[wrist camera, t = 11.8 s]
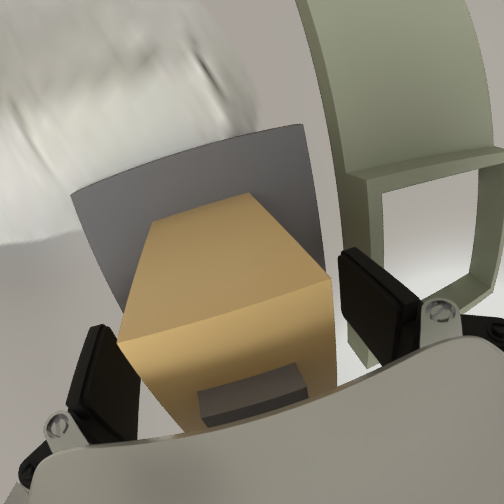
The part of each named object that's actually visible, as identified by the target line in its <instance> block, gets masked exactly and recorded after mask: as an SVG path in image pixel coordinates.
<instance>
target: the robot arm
mask: <svg viewBox="0 0 504 504" xmlns="http://www.w3.org/2000/svg"><path fill="white" fill-rule="evenodd" d="M338 269H339V283H340V298H341V311H342V314H343V316H344V318H345V319H346V320H347V322H348V323H349V324H350V325H351V327H352V328H353V329H354V330H355V332H356V333H357V334H358V336H359V337H360V338H361V339H362V341H363V342H364V343H365V345H366V346H367V347H368V348H369V350H370V351H371V352H372V354H373V355H374V356H375V358H376V359H377V360H378V361H379V363H380V364H381V365H382V367H381V368H378V369H376V370H374V371H372V372H370V373H367V374H366V375H363V376H361V377H359V378H357V379H354V380H352V381H350V382H347V383H345V384H343V385H341V386H338V387H336V388H333V389H331V390H328V391H326V392H323V393H321V394H318V395H316V396H313V397H310V398H308V399H305V400H302V401H299V402H296V403H294V404H291V405H288V406H285V407H282V408H279V409H276V410H273V411H270V412H266V413H263V414H260V415H256V416H253V417H249V418H246V419H242V420H238V421H235V422H231V423H227V424H223V425H219V426H214V427H210V428H205V429H201V430H196V431H191V432H186V433H181V434H175V435H169V436H163V437H156V438H149V439H142V440H137V432H138V410H139V394H140V382H141V378H140V376H139V375H138V374H137V372H136V371H135V370H134V368H133V367H132V365H131V364H130V363H129V361H128V360H127V358H126V357H125V355H124V354H123V352H122V351H121V349H120V348H119V346H118V345H117V338H116V337H115V335H114V334H113V332H112V330H111V329H110V327H108V326H107V327H106V326H105V325H104V324H100V325H97V326H93V327H90V329H89V331H88V334H87V337H86V340H85V342H84V346H83V348H82V351H81V354H80V357H79V360H78V363H77V367H76V370H75V373H74V376H73V379H72V383H71V387H70V390H69V394H68V398H67V401H66V405H67V407H68V411H57V412H55V413H53V414H52V415H51V416H50V417H49V418H48V419H47V421H46V423H45V426H44V435H45V438H46V440H45V441H44V442H43V443H42V444H41V445H40V446H39V447H38V448H37V449H36V450H35V451H34V452H33V453H31V455H29V456H28V457H27V458H26V459H25V460H24V461H23V462H22V464H21V465H20V467H19V472H18V474H19V475H18V476H19V480H20V484H19V483H18V482H16V484H15V486H14V487H13V489H12V491H11V492H10V494H9V496H8V498H7V500H6V501H5V503H4V504H504V319H503V318H498V317H486V316H475V315H465V314H464V315H463V314H460V311H459V308H458V306H457V305H456V304H455V303H454V302H453V301H451V300H449V299H446V298H440V297H439V298H432V299H429V300H427V301H426V302H425V303H423V302H422V301H421V300H420V299H419V298H418V297H417V296H416V295H415V294H414V293H413V292H411V291H410V290H409V289H408V288H407V287H405V286H404V285H403V284H402V283H401V282H399V281H398V280H397V279H395V278H394V277H393V276H392V275H391V274H390V273H388V272H387V271H386V270H385V269H383V268H382V267H381V266H380V265H378V264H377V263H376V262H375V261H373V260H372V259H371V258H369V257H368V256H367V255H366V254H364V253H363V252H362V251H360V250H359V249H358V248H356V247H352V248H349V249H346V250H343V251H342V252H341V255H340V256H338Z"/></svg>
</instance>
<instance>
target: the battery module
mask: <svg viewBox="0 0 504 504" xmlns="http://www.w3.org/2000/svg"><path fill="white" fill-rule="evenodd" d="M117 345H118V346H119V348H120V349H121V351H122V352H123V354H124V355H125V357H126V358H127V360H128V361H129V363H130V364H131V365H132V367H133V368H134V370H135V371H136V372H137V374H138V375H139V376H140V378H141V379H142V381H143V382H144V383H145V384H146V386H147V387H148V389H149V390H150V391H151V392H152V394H153V395H154V396H155V397H156V399H157V400H158V401H159V402H160V404H161V405H162V406H163V407H164V409H165V410H166V411H167V412H168V413H169V415H170V416H171V417H172V418H173V419H174V420H175V422H176V423H177V424H178V425H179V426H180V427H181V428H182V430H183V431H184V432H185V433H186V432H191V431H196V430H201V429H205V428H210V427H214V426H219V425H223V424H227V423H231V422H235V421H238V420H242V419H246V418H249V417H253V416H256V415H260V414H263V413H266V412H270V411H273V410H276V409H279V408H282V407H285V406H288V405H291V404H294V403H296V402H299V401H302V400H305V399H308V398H310V397H313V396H316V395H318V394H321V393H323V392H326V391H328V390H331V389H333V388H336V387H337V361H336V339H335V322H334V308H333V295H332V284H331V278H330V277H329V275H328V274H327V273H326V272H325V271H324V270H323V269H322V268H321V267H320V266H319V265H318V264H317V263H316V261H315V260H314V259H313V258H312V257H311V256H310V255H309V254H308V253H307V252H306V251H305V250H304V249H303V248H302V247H301V246H300V244H299V243H298V242H297V241H296V240H295V239H294V238H293V237H292V236H291V235H290V234H289V233H288V232H287V231H286V230H285V229H284V228H283V227H282V226H281V225H280V224H279V223H278V222H277V221H276V220H275V218H274V217H273V216H272V215H271V214H270V213H269V212H268V211H267V210H266V209H265V208H264V207H263V206H262V205H261V204H260V203H259V202H258V201H257V200H256V199H255V198H254V197H253V196H252V195H251V194H250V193H249V192H248V193H245V194H241V195H238V196H234V197H231V198H227V199H224V200H220V201H217V202H214V203H210V204H207V205H204V206H200V207H197V208H194V209H191V210H187V211H184V212H181V213H178V214H175V215H172V216H169V217H166V218H163V219H160V220H157V221H154V222H152V225H151V227H150V230H149V233H148V236H147V239H146V242H145V245H144V248H143V251H142V254H141V257H140V260H139V263H138V266H137V270H136V273H135V276H134V279H133V283H132V286H131V290H130V293H129V297H128V300H127V304H126V308H125V311H124V315H123V319H122V323H121V327H120V331H119V335H118V339H117Z"/></svg>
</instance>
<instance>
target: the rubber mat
mask: <svg viewBox="0 0 504 504" xmlns="http://www.w3.org/2000/svg"><path fill="white" fill-rule="evenodd" d="M248 192H249V193H250V194H251V195H252V196H253V197H254V198H255V199H256V200H257V201H258V202H259V203H260V204H261V205H262V206H263V207H264V208H265V209H266V210H267V211H268V212H269V213H270V214H271V215H272V216H273V217H274V218H275V220H276V221H277V222H278V223H279V224H280V225H281V226H282V227H283V228H284V229H285V230H286V231H287V232H288V233H289V234H290V235H291V236H292V237H293V238H294V239H295V240H296V241H297V242H298V243H299V244H300V246H301V247H302V248H303V249H304V250H305V251H306V252H307V253H308V254H309V255H310V256H311V257H312V258H313V259H314V260H315V261H316V263H317V264H318V265H319V266H320V267H321V268H322V269H323V270H324V271H325V272H326V269H325V259H324V251H323V243H322V235H321V229H320V220H319V213H318V206H317V200H316V193H315V187H314V181H313V175H312V169H311V164H310V158H309V153H308V147H307V143H306V137H305V132H304V127H303V124H293V125H288V126H283V127H278V128H273V129H268V130H263V131H259V132H254V133H250V134H246V135H241V136H237V137H233V138H229V139H225V140H221V141H218V142H214V143H210V144H207V145H203V146H200V147H196V148H193V149H189V150H186V151H183V152H179V153H176V154H173V155H170V156H167V157H164V158H161V159H158V160H155V161H152V162H149V163H146V164H143V165H140V166H138V167H135V168H132V169H129V170H127V171H124V172H121V173H119V174H116V175H114V176H111V177H109V178H106V179H104V180H101V181H99V182H96V183H94V184H92V185H89V186H87V187H85V188H82V189H80V190H78V191H76V192H74V193H73V194H71V195H70V196H71V199H72V201H73V204H74V207H75V210H76V212H77V215H78V217H79V220H80V223H81V225H82V228H83V230H84V232H85V235H86V237H87V239H88V242H89V244H90V247H91V249H92V251H93V253H94V255H95V258H96V260H97V262H98V264H99V266H100V268H101V271H102V273H103V275H104V277H105V279H106V281H107V283H108V285H109V287H110V289H111V291H112V293H113V295H114V297H115V298H116V300H117V302H118V304H119V306H120V308H121V310H122V312H123V313H124V311H125V308H126V304H127V300H128V297H129V293H130V290H131V286H132V283H133V279H134V276H135V273H136V270H137V266H138V263H139V260H140V257H141V254H142V251H143V248H144V245H145V242H146V239H147V236H148V233H149V230H150V227H151V225H152V222H154V221H157V220H160V219H163V218H166V217H169V216H172V215H175V214H178V213H181V212H184V211H187V210H191V209H194V208H197V207H200V206H204V205H207V204H210V203H214V202H217V201H220V200H224V199H227V198H231V197H234V196H238V195H241V194H245V193H248Z"/></svg>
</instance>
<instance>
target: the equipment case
mask: <svg viewBox="0 0 504 504" xmlns="http://www.w3.org/2000/svg"><path fill="white" fill-rule="evenodd" d="M295 1H296V5H297V8H298V11H299V14H300V17H301V20H302V24H303V27H304V30H305V34H306V38H307V41H308V45H309V48H310V52H311V56H312V60H313V64H314V68H315V72H316V76H317V80H318V85H319V89H320V94H321V98H322V102H323V108H324V112H325V117H326V123H327V128H328V133H329V139H330V145H331V151H332V157H333V163H334V170H335V177H336V184H337V192H338V199H339V208H340V217H341V226H342V237H343V248H344V250H346V249H349V248H352V247H356V248H358V249H359V250H360V251H362V252H363V253H364V254H366V255H367V256H368V257H369V258H371V259H372V260H373V261H375V262H376V263H377V264H378V265H380V266H381V267H382V268H383V269H384V235H383V234H384V233H383V208H382V193H385V192H389V191H393V190H397V189H401V188H405V187H408V186H412V185H416V184H420V183H424V182H428V181H432V180H435V179H439V178H443V177H447V176H451V175H455V174H459V173H464V172H468V171H472V170H476V169H479V178H478V179H479V182H478V205H477V217H476V228H475V237H474V244H473V251H472V258H471V264H470V269H469V273H468V274H467V275H465V276H463V277H462V278H460V279H458V280H457V281H455V282H453V283H452V284H450V285H448V286H446V287H445V288H443V289H441V290H439V291H437V292H436V293H434V294H432V295H430V296H428V297H427V298H425V299H423V300H421V301H422V302H423V303H425V302H426V301H427V300H429V299H432V298H439V297H440V298H446V299H449V300H451V301H453V302H454V303H455V304H456V305H457V306H458V308H459V311H460V314H464V313H465V312H467V311H468V310H470V309H471V308H472V307H474V306H475V305H477V304H478V303H479V302H481V301H482V300H483V299H485V298H486V297H487V296H489V295H490V294H491V293H493V290H494V286H495V282H496V278H497V274H498V270H499V265H500V261H501V256H502V251H503V245H504V149H502V148H499V147H495V146H494V144H493V143H494V142H493V128H492V127H493V126H492V115H491V106H490V98H489V91H488V85H487V79H486V74H485V68H484V64H483V59H482V55H481V51H480V47H479V43H478V39H477V36H476V32H475V29H474V26H473V22H472V19H471V16H470V13H469V11H468V8H467V5H466V2H465V0H295ZM347 324H348V343H349V345H350V346H351V348H352V349H353V350H354V352H355V353H356V355H357V356H358V357H359V359H360V360H361V362H362V363H363V364H364V366H365V367H366V369H368V368H370V367H372V366H374V365H376V364H379V361H378V360H377V359H376V358H375V356H374V355H373V354H372V352H371V351H370V350H369V348H368V347H367V346H366V345H365V343H364V342H363V341H362V339H361V338H360V337H359V336H358V334H357V333H356V332H355V330H354V329H353V328H352V327H351V325H350V324H349V323H348V322H347Z"/></svg>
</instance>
